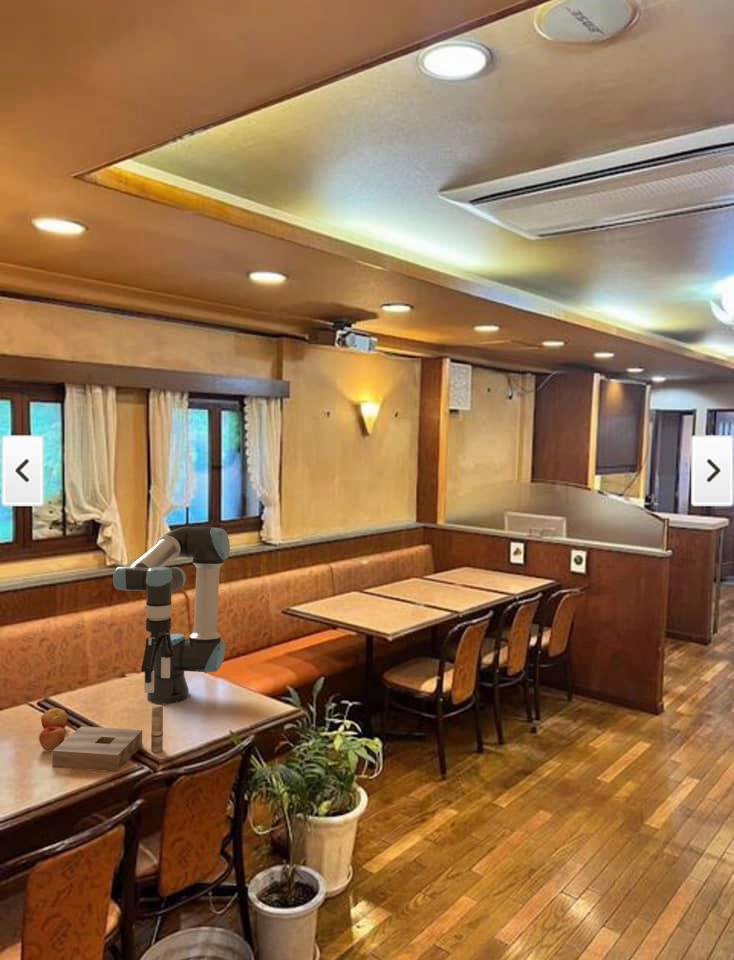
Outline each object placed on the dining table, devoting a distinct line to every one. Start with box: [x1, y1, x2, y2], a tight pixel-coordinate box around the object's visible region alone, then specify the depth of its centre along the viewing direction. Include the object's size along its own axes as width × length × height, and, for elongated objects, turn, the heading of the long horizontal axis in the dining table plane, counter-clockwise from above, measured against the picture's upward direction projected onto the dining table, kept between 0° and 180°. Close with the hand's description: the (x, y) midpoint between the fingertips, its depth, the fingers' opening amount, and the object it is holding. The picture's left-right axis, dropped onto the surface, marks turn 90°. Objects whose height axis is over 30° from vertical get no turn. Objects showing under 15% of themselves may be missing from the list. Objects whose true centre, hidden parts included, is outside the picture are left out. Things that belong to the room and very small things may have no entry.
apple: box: [38, 725, 66, 752], centre depth 219 cm, size 7×7×8 cm
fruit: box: [40, 707, 69, 730], centre depth 233 cm, size 8×8×8 cm
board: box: [51, 725, 143, 773], centre depth 215 cm, size 18×20×5 cm
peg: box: [150, 704, 164, 754], centre depth 220 cm, size 4×4×14 cm
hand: (157, 684), depth 219 cm, fingers open, 13 cm apart
